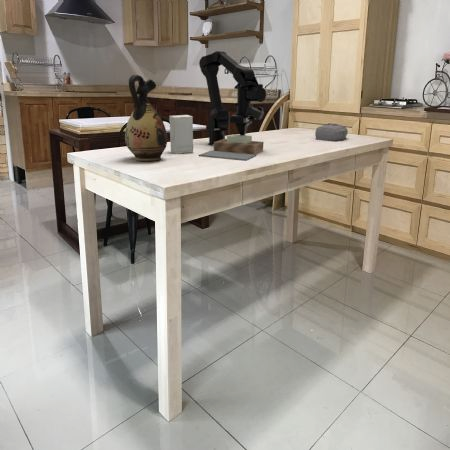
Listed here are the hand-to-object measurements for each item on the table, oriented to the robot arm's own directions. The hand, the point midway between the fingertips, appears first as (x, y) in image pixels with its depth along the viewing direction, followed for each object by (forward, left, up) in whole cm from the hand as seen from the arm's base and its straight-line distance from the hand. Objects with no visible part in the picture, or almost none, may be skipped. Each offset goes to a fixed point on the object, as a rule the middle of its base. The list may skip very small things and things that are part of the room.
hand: (242, 138), depth 182 cm
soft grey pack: (+29, +60, -6) cm, 67 cm away
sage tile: (0, -4, -1) cm, 4 cm away
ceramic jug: (-24, -39, -5) cm, 46 cm away
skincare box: (-20, -18, -5) cm, 28 cm away
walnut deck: (0, -4, -5) cm, 7 cm away
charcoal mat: (0, -17, -5) cm, 17 cm away
